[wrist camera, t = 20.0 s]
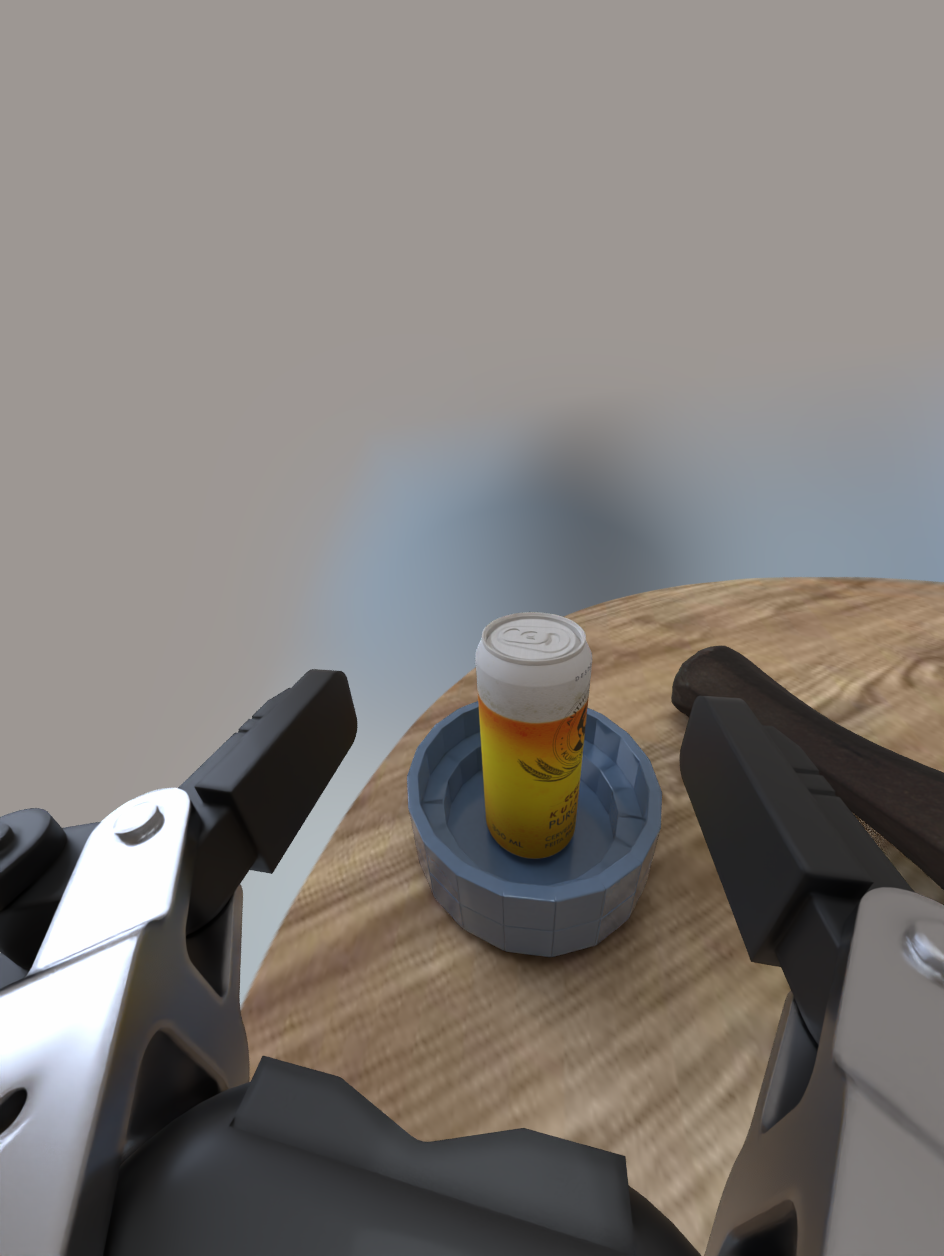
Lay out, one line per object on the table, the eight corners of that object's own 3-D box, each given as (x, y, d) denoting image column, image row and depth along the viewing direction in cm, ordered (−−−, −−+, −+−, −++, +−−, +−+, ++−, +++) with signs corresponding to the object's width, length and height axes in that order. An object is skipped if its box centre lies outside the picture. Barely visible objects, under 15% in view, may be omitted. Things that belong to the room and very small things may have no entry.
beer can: (568, 880, 23) (589, 674, 16) (474, 850, 25) (456, 655, 18) (579, 797, 28) (598, 614, 21) (499, 778, 30) (493, 605, 23)
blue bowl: (373, 888, 24) (353, 827, 21) (475, 730, 36) (471, 678, 33) (634, 1029, 18) (655, 968, 15) (651, 780, 30) (664, 721, 27)
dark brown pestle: (1327, 1185, 14) (699, 746, 39) (1584, 981, 12) (750, 656, 37) (1332, 1312, 10) (624, 729, 35) (1726, 1029, 8) (677, 626, 33)
